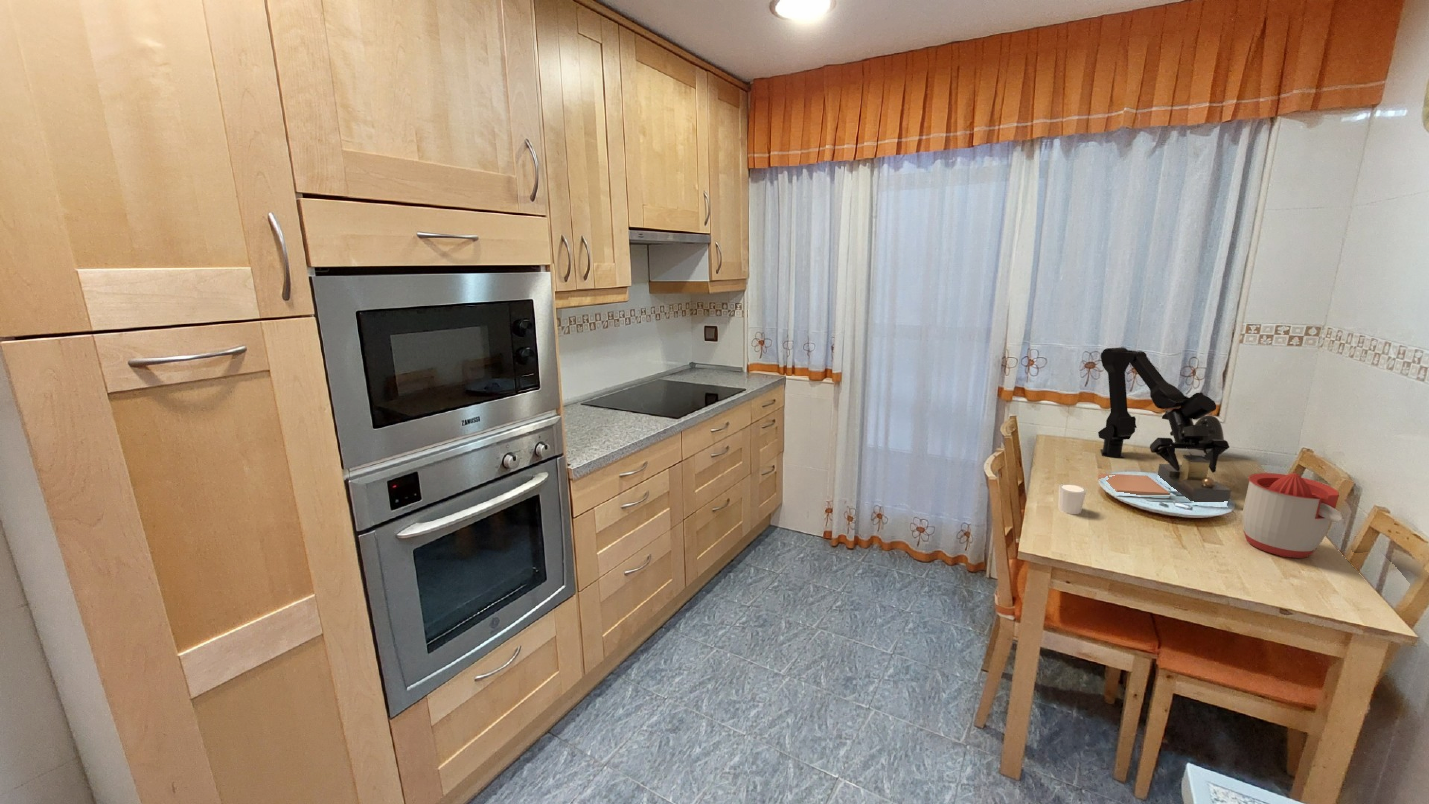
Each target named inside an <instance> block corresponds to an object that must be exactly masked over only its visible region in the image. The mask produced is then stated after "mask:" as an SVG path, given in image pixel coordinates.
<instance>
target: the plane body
mask: <svg viewBox="0 0 1429 804" xmlns="http://www.w3.org/2000/svg"><path fill="white" fill-rule="evenodd" d="M1181 465H1182V464H1179V468H1180V470H1179V471H1176V470H1175V469H1174V468H1173V467H1172V466H1171V465H1170V464H1169V463H1159V465H1158V469H1157V475H1159V476H1160V478H1162V479H1163V480H1164V481H1166V482H1167V483H1168V484H1169V485H1170V486H1171V487H1173V488H1174V489H1176V490H1177V491H1178V492H1180V493H1181V494H1182V495H1184V496H1185V497H1186V498H1188V499H1189V500H1190V501H1194V502H1224V501H1228V503H1229V501H1230V497H1231V492H1232V489H1230V488H1229V487H1227V486H1225V485H1224V484H1223V483H1220V482H1219V481H1215V480H1214V479H1213V478H1211V477H1207V478H1204V479H1202V481H1197V480H1182V481H1181V480H1179V476H1180V471H1181Z"/></svg>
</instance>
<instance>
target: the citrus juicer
mask: <svg viewBox="0 0 1429 804" xmlns="http://www.w3.org/2000/svg"><path fill="white" fill-rule="evenodd" d="M1246 490H1247V491H1246V494H1245V495H1246V496H1245V499H1244V505H1243V508H1242V509H1243V510H1242V526H1243V533H1244V537H1245V540H1246V542H1248V544H1250V545H1251V546H1252V547H1255V548H1257V549H1259V550H1260V551H1264V552H1266V553H1269V554H1272V555H1273V554H1274V555H1277V556H1279V557H1282V558H1297V559H1298V558H1300V559H1301V558H1307V557H1309V556H1311V555H1312V554H1313V553H1314V552H1315V551H1316V550H1317V549H1318V547H1319V545H1320V544H1322V542H1323V540H1324V539H1325V537H1326V535H1327V533H1328V530H1329V527H1330V523H1331V522H1333V523H1334V522H1340V521H1342V518H1343V515H1342V512H1340V511H1339V510H1337V509H1336V508H1337V503H1338V500H1339V496H1340V495H1339V491H1338V490H1336V489H1335V488H1334V487H1331V486H1330V485H1327V484H1325V483H1322V482H1320V481H1316V480H1312V479H1309V478H1307V477H1306V478H1305V477H1301V476H1300V475H1299V474H1298V473H1296V472H1291V473H1289V474H1284V473H1283V474H1282V473H1268V472H1262V473H1261V472H1259V473H1254V474H1251V475H1249V476H1248V487H1247V489H1246Z"/></svg>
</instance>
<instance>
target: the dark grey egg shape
mask: <svg viewBox="0 0 1429 804" xmlns="http://www.w3.org/2000/svg"><path fill="white" fill-rule="evenodd" d="M1204 424H1213V425H1214V427H1215V434H1212V435H1209V437H1207V436H1206V437H1203V438H1204V439H1203V440H1202V441H1199V443H1207V442H1209V441H1210V440H1211V439H1218V440H1225V438H1224V437H1225V436H1224V431H1223V427H1222V424H1221V422H1220V420H1219V419H1218V418H1217V417H1216V416H1214V415H1209V414H1207V415H1205V416H1203V417H1202V418H1200V419H1197V421H1196V422H1195V423H1194V425H1197V426H1203V425H1204ZM1187 451H1188V452H1189V453H1190V455H1197V456H1203V457H1204V455H1206V453H1204V451H1203V449H1187Z"/></svg>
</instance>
